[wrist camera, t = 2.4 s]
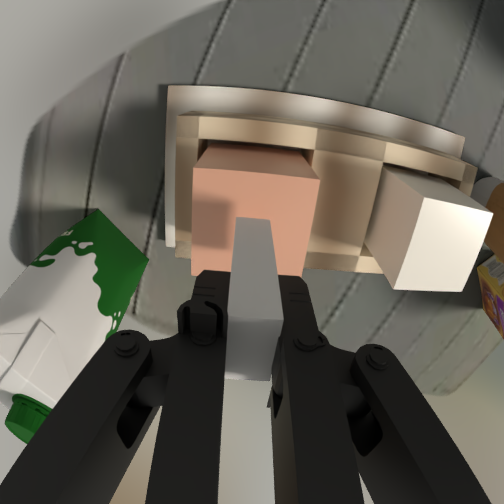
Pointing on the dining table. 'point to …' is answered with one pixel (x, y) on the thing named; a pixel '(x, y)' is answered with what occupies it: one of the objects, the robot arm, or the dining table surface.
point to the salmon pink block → (251, 203)
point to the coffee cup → (499, 203)
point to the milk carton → (62, 316)
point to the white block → (424, 231)
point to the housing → (314, 152)
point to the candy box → (493, 290)
